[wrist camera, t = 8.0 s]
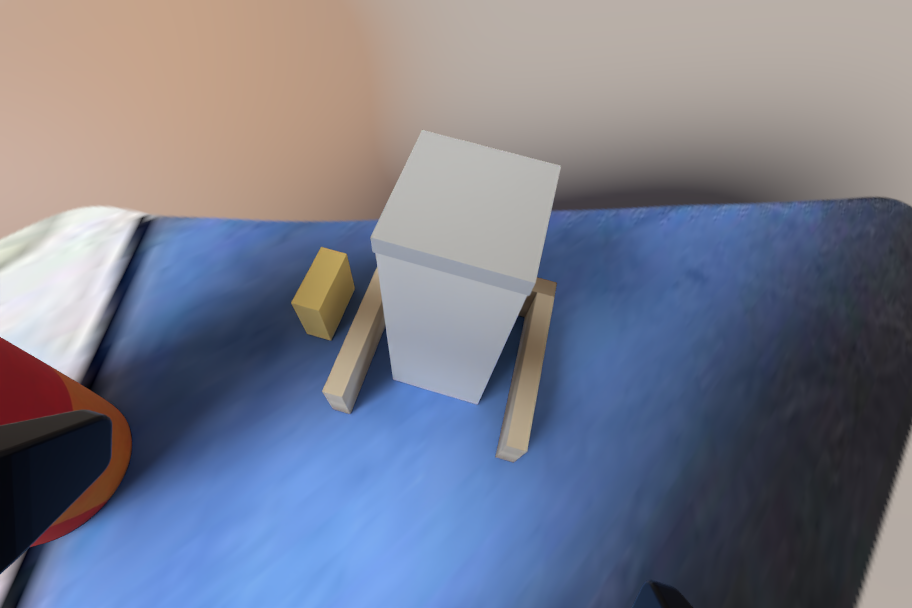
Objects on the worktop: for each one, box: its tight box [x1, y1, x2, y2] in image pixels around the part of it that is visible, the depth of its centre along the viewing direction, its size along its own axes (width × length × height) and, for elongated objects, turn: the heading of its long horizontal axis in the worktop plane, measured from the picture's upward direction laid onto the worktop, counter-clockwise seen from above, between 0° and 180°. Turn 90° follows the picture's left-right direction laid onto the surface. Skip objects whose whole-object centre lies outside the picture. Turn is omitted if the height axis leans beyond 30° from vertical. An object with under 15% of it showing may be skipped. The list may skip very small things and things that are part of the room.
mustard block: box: [291, 247, 355, 341], centre depth 20 cm, size 3×1×3 cm, turn 165°
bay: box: [322, 267, 557, 462], centre depth 19 cm, size 8×8×2 cm
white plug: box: [370, 130, 561, 405], centre depth 16 cm, size 4×4×10 cm
